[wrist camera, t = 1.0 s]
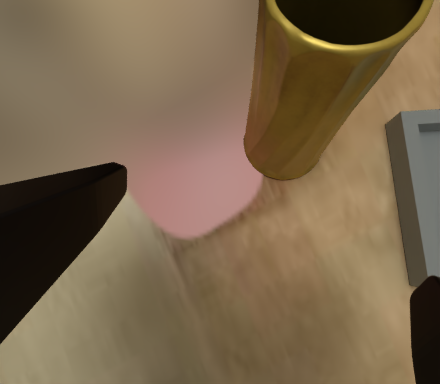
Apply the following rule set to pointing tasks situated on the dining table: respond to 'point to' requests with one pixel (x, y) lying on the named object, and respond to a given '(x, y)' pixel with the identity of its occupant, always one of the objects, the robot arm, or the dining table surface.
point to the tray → (417, 188)
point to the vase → (317, 73)
